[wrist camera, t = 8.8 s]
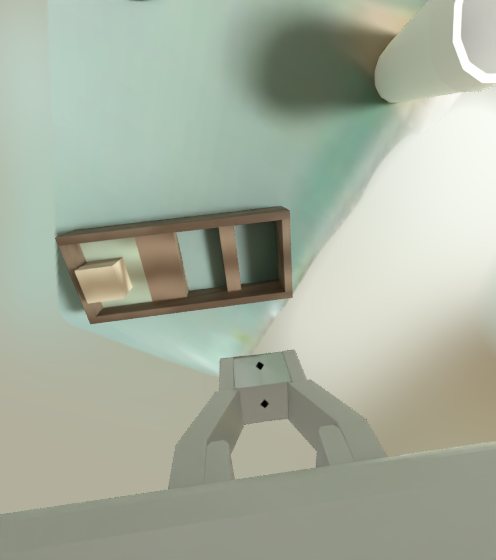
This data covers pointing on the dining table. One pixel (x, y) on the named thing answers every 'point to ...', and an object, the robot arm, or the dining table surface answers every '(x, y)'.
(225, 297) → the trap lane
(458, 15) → the foam cup
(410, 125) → the dining table surface
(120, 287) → the block
